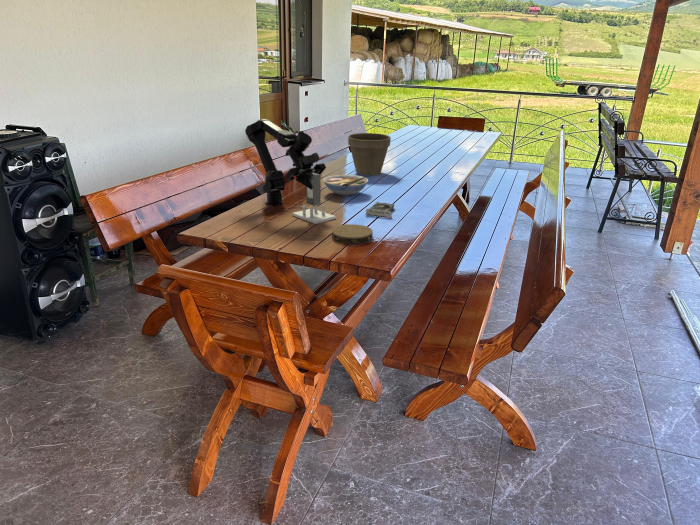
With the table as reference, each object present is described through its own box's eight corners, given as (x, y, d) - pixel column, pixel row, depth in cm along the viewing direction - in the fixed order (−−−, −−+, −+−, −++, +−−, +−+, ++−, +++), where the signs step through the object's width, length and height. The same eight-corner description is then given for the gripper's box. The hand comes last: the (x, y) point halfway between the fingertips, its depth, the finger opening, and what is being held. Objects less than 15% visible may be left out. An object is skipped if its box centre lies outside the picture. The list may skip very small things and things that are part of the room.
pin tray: (292, 215, 230) (292, 204, 228) (311, 210, 238) (311, 199, 236) (316, 223, 220) (316, 212, 218) (335, 218, 227) (335, 207, 225)
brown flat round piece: (359, 229, 215) (360, 222, 214) (380, 241, 202) (380, 233, 201) (325, 234, 208) (325, 227, 207) (343, 247, 195) (343, 239, 194)
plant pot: (387, 178, 298) (388, 140, 290) (344, 176, 302) (344, 138, 293) (391, 169, 321) (392, 133, 313) (351, 167, 324) (351, 132, 316)
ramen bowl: (339, 185, 281) (339, 170, 278) (377, 191, 271) (377, 176, 267) (313, 196, 261) (312, 180, 258) (352, 203, 251) (352, 186, 248)
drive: (306, 203, 227) (305, 173, 222) (312, 201, 229) (312, 172, 224) (314, 205, 224) (313, 175, 219) (320, 204, 226) (320, 174, 221)
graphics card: (391, 212, 227) (365, 208, 230) (391, 220, 228) (365, 217, 231) (400, 202, 242) (375, 199, 245) (400, 210, 243) (375, 207, 246)
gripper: (289, 149, 214) (306, 180, 211) (323, 144, 226) (340, 174, 223) (278, 165, 222) (295, 195, 219) (311, 159, 234) (328, 188, 231)
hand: (315, 188), depth 223 cm, fingers closed on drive, 4 cm apart
